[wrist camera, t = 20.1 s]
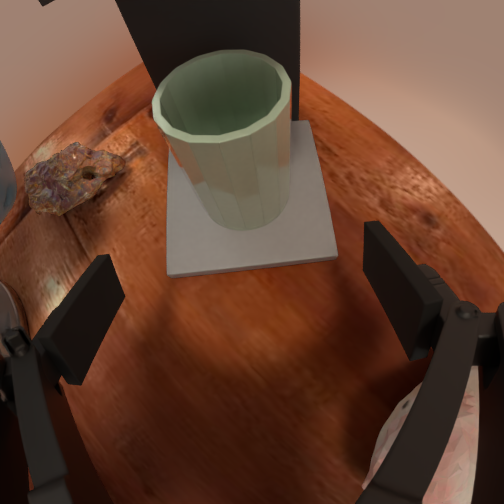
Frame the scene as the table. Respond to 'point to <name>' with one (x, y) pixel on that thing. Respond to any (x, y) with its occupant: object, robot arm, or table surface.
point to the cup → (230, 134)
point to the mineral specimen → (69, 178)
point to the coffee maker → (302, 143)
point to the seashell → (455, 455)
